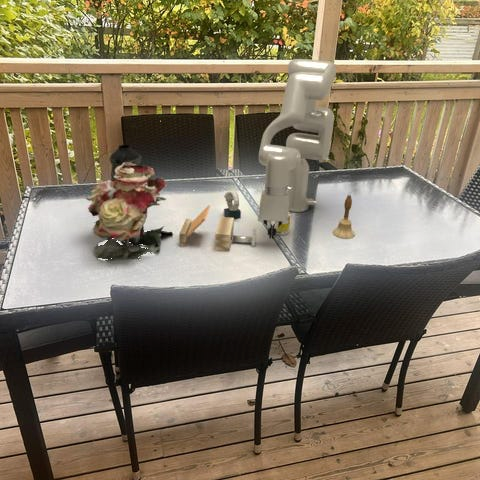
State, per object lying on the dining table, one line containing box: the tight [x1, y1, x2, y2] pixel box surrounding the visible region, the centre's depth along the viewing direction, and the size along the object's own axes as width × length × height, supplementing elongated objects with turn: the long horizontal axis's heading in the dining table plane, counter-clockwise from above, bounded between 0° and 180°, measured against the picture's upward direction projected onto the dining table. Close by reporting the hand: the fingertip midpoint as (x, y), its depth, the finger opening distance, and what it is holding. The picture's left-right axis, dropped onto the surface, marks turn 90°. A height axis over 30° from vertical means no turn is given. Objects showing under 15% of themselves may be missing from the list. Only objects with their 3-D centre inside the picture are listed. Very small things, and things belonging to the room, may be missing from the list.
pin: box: [231, 228, 257, 248], centre depth 164 cm, size 8×4×5 cm, turn 85°
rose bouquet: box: [85, 163, 175, 262], centre depth 152 cm, size 26×29×30 cm
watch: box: [223, 190, 242, 220], centre depth 181 cm, size 6×8×11 cm
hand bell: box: [332, 194, 355, 240], centre depth 171 cm, size 8×8×16 cm
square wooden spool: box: [179, 216, 235, 252], centre depth 164 cm, size 18×14×6 cm
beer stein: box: [108, 144, 142, 189], centre depth 183 cm, size 16×19×25 cm
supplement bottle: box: [276, 211, 291, 236], centre depth 171 cm, size 6×6×10 cm
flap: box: [186, 205, 211, 239], centre depth 162 cm, size 10×11×1 cm
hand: (271, 236), depth 163 cm, fingers closed
